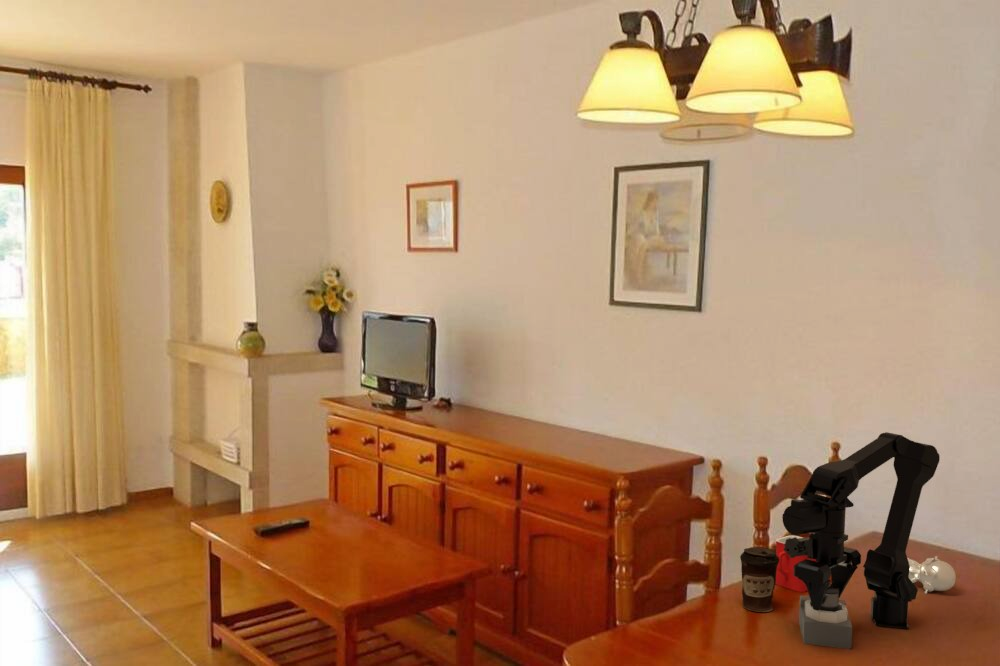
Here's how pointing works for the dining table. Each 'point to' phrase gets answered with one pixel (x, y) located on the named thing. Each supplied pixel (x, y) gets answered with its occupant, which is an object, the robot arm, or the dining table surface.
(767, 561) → the coffee cup
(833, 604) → the lens
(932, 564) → the figurine
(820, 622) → the camera body
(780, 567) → the mug
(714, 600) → the dining table surface
